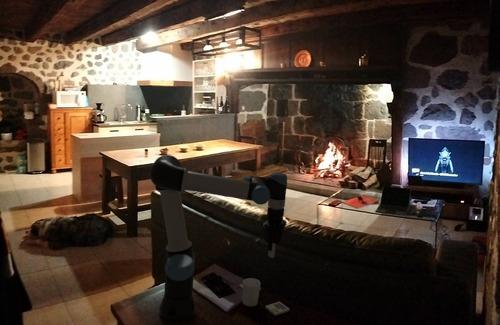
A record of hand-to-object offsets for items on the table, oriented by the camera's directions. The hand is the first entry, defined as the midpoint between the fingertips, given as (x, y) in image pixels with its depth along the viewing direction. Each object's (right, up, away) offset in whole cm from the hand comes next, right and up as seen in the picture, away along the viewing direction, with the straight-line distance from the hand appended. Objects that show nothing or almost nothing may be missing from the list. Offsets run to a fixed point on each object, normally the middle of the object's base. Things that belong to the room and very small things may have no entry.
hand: (271, 256), depth 184 cm
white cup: (-10, -21, -2) cm, 23 cm away
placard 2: (+2, -22, -6) cm, 23 cm away
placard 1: (-10, -18, +11) cm, 23 cm away
